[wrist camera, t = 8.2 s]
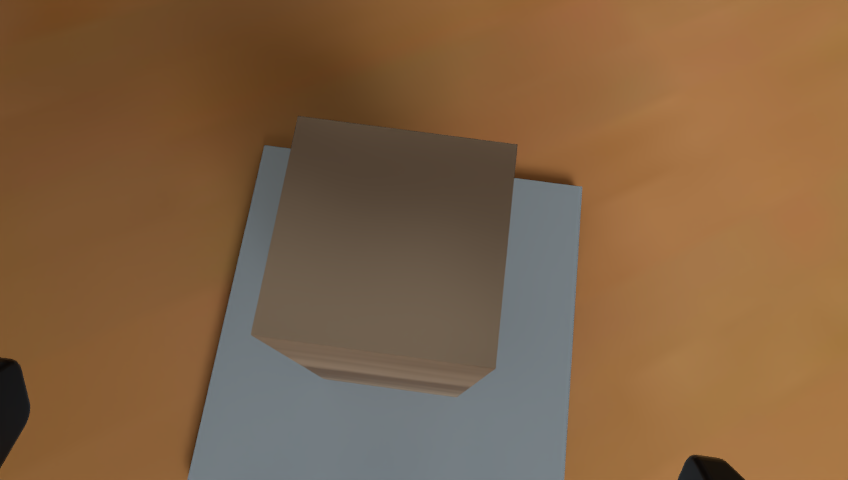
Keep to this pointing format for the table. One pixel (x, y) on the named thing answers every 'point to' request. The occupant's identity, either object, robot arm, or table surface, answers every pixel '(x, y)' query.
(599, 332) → the table surface
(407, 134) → the walnut pillar
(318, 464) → the slate coaster
